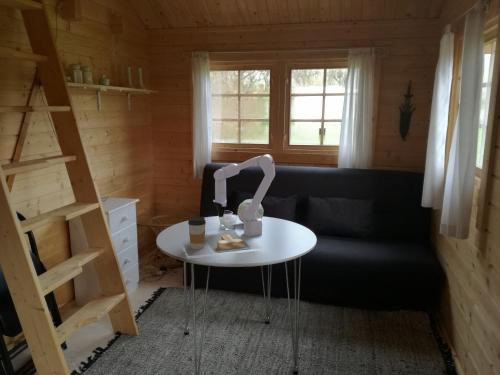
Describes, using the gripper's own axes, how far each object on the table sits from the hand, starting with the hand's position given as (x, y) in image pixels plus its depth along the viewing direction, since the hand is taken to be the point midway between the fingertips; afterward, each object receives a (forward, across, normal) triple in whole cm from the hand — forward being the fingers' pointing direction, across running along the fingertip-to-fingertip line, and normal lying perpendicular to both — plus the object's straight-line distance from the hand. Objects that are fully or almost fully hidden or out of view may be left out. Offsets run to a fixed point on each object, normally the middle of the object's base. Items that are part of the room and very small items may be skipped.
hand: (220, 216), depth 214 cm
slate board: (+9, +16, -2) cm, 18 cm away
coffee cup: (+10, +20, -17) cm, 28 cm away
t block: (+8, +21, -2) cm, 23 cm away
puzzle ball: (+10, -12, +21) cm, 26 cm away
